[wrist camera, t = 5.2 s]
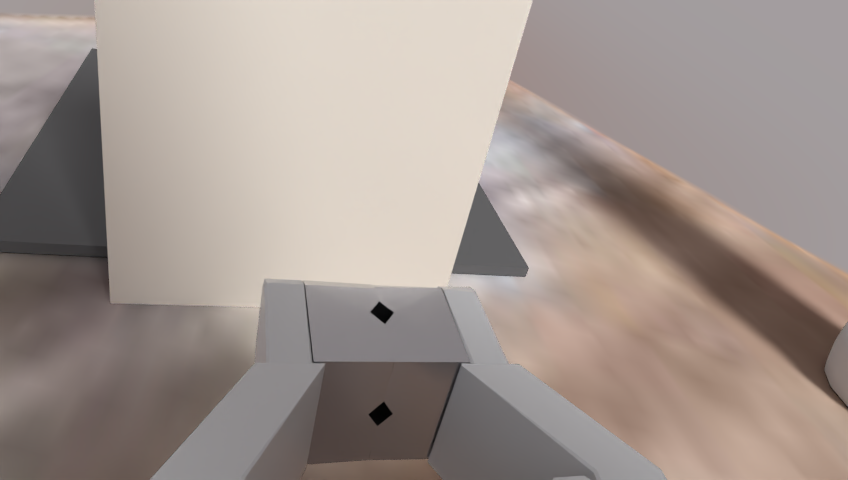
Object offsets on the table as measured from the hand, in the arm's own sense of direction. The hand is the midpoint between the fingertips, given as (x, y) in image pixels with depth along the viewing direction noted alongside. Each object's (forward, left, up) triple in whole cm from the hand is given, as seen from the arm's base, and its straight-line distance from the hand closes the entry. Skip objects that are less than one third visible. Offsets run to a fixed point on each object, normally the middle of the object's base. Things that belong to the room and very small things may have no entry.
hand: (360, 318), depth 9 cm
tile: (0, +9, -7) cm, 12 cm away
